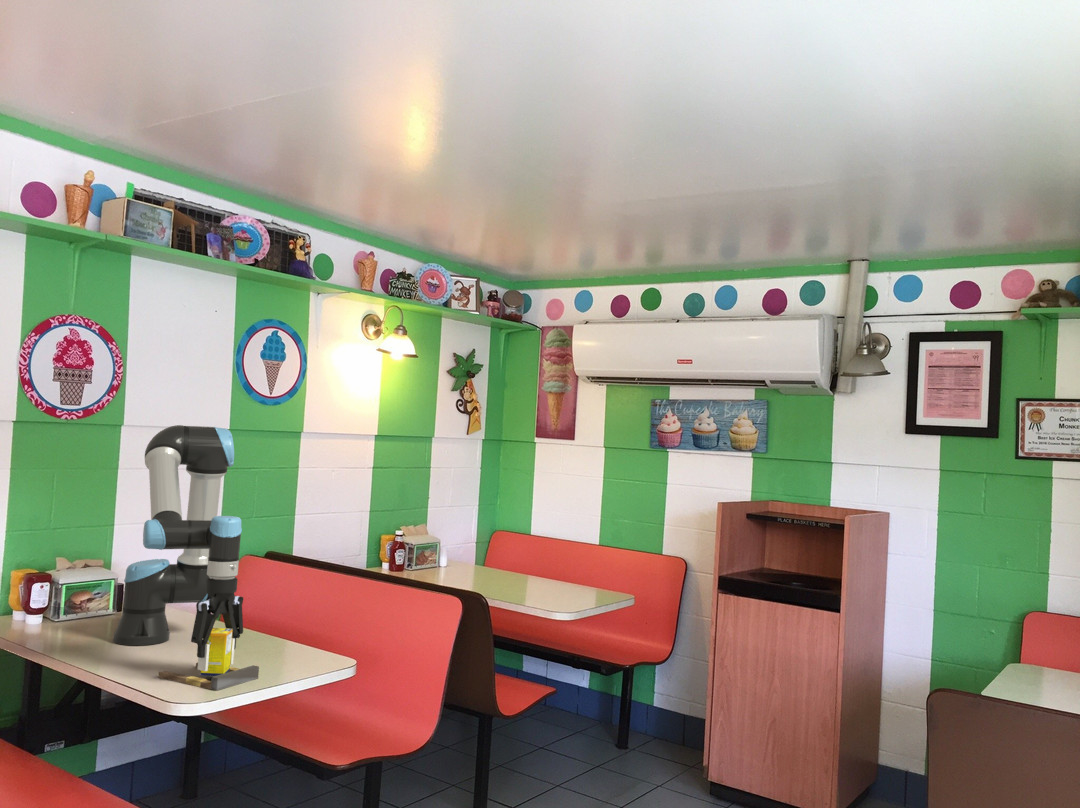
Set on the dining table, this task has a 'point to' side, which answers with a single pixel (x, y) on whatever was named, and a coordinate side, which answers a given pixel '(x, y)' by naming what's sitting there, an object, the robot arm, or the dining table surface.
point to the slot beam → (216, 678)
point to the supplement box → (219, 652)
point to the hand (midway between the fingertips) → (215, 666)
